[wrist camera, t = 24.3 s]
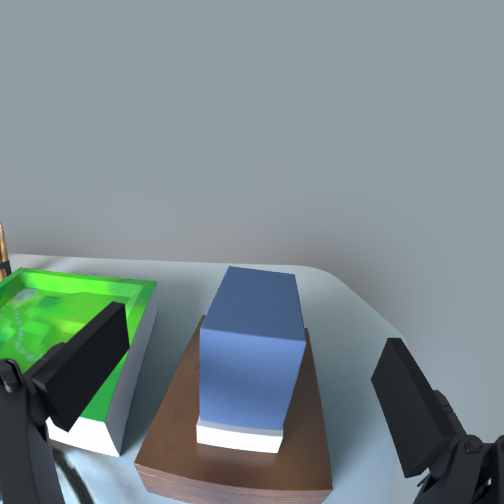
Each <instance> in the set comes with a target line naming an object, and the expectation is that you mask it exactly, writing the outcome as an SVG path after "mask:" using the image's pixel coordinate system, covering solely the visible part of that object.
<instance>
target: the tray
mask: <svg viewBox="0 0 504 504" xmlns="http://www.w3.org/2000/svg"><path fill="white" fill-rule="evenodd" d="M112 301H115V302H119V303H124V304H125V309H126V319H127V328H128V336H129V343H130V349H129V350H128V351H127V353H126V354H125V355H124V357H123V358H122V359H121V361H120V362H119V363H118V365H117V366H116V367H115V369H114V370H113V371H112V373H111V374H110V375H109V377H108V378H107V379H106V381H105V382H104V383H103V385H102V386H101V388H100V389H99V390H98V392H97V393H96V394H95V396H94V397H93V399H92V400H91V401H90V403H89V404H88V406H87V407H86V408H85V410H84V411H83V413H82V414H81V415H80V417H79V418H78V420H77V421H76V423H75V424H74V425H73V427H72V428H71V430H70V431H69V433H67V432H65V431H63V430H61V429H60V428H58V427H56V426H54V424H53V422H52V421H51V419H50V417H49V418H48V419H47V421H46V423H47V425H48V430H49V437H50V438H51V439H54V440H57V441H60V442H63V443H66V444H69V445H73V446H76V447H80V448H83V449H87V450H91V451H95V452H99V453H103V454H108V455H113V456H118V457H119V456H120V451H121V446H122V442H123V437H124V432H125V428H126V424H127V419H128V415H129V411H130V407H131V403H132V399H133V395H134V391H135V387H136V384H137V380H138V376H139V372H140V369H141V365H142V362H143V358H144V355H145V351H146V348H147V345H148V341H149V338H150V335H151V332H152V328H153V325H154V322H155V319H156V316H157V313H158V308H157V281H145V280H133V279H122V278H111V277H100V276H90V275H80V274H71V273H62V272H53V271H45V270H37V269H29V268H19V269H18V270H16V271H15V272H13V273H12V274H10V275H9V276H8V277H6V278H5V279H3V280H2V281H1V282H0V359H4V358H11V359H13V360H15V361H16V362H17V363H18V365H19V368H20V370H21V372H22V375H23V374H24V373H25V372H26V371H27V370H28V369H29V368H30V367H31V366H32V365H33V364H34V363H35V362H36V361H37V360H38V359H39V358H40V359H41V356H42V355H44V354H46V352H47V351H48V350H49V349H50V348H51V347H52V346H54V345H56V344H58V343H60V342H65V343H66V342H68V341H69V340H70V339H71V338H72V337H73V336H74V335H75V334H76V333H77V332H78V331H79V330H80V329H82V328H83V327H84V326H85V325H86V324H87V323H88V322H89V321H90V320H91V319H93V318H94V317H95V316H96V315H97V314H98V313H99V312H100V311H102V310H103V309H104V308H105V307H106V306H107V305H108V304H109V303H111V302H112Z"/></svg>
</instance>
